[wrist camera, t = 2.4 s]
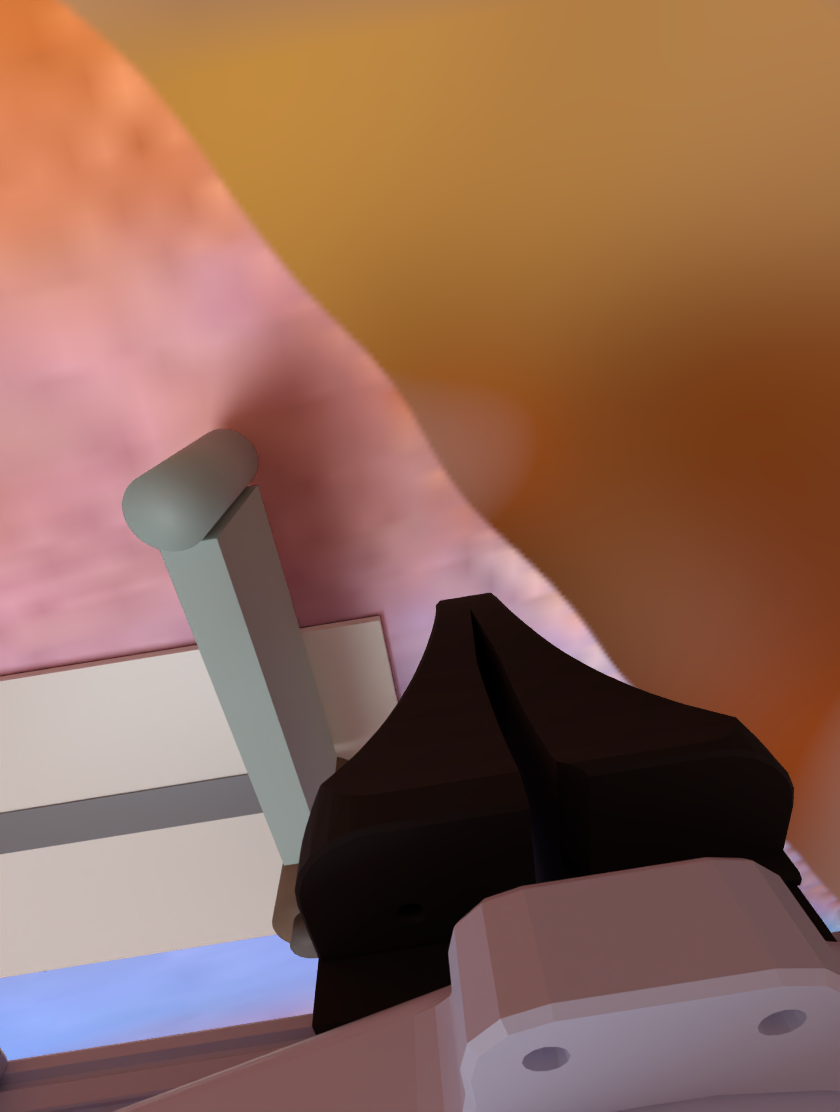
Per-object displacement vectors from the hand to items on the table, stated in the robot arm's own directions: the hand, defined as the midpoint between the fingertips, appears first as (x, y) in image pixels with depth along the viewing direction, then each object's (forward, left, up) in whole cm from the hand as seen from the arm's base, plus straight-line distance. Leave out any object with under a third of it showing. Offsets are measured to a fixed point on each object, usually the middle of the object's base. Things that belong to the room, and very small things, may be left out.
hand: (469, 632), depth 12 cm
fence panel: (-1, +5, -3) cm, 6 cm away
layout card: (-9, +13, -4) cm, 16 cm away
